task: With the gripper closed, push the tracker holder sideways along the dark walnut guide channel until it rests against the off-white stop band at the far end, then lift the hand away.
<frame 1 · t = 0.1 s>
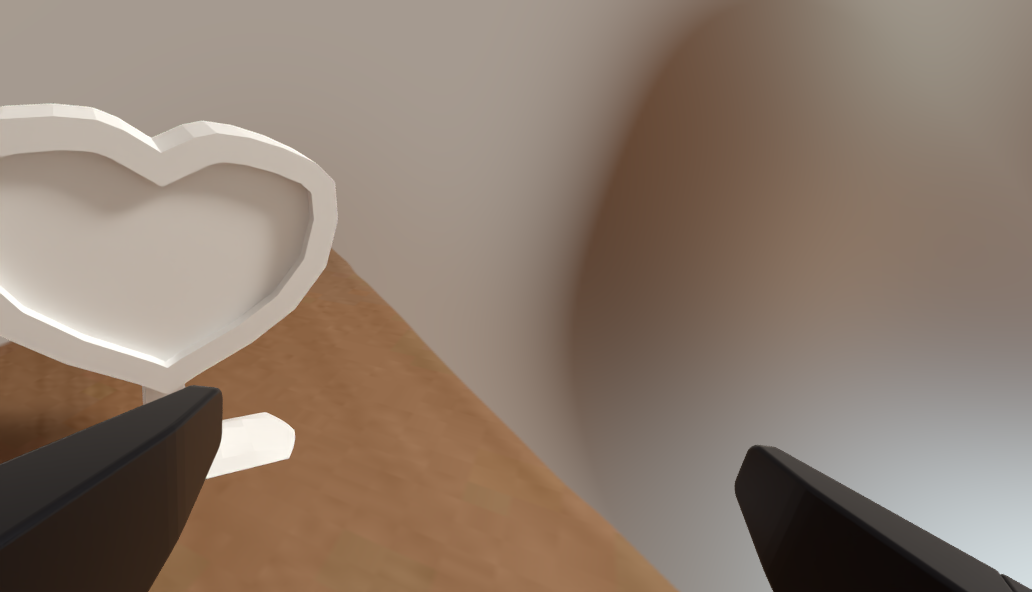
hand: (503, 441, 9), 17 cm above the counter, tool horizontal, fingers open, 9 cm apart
heart sculpture: (165, 460, 29), on the counter
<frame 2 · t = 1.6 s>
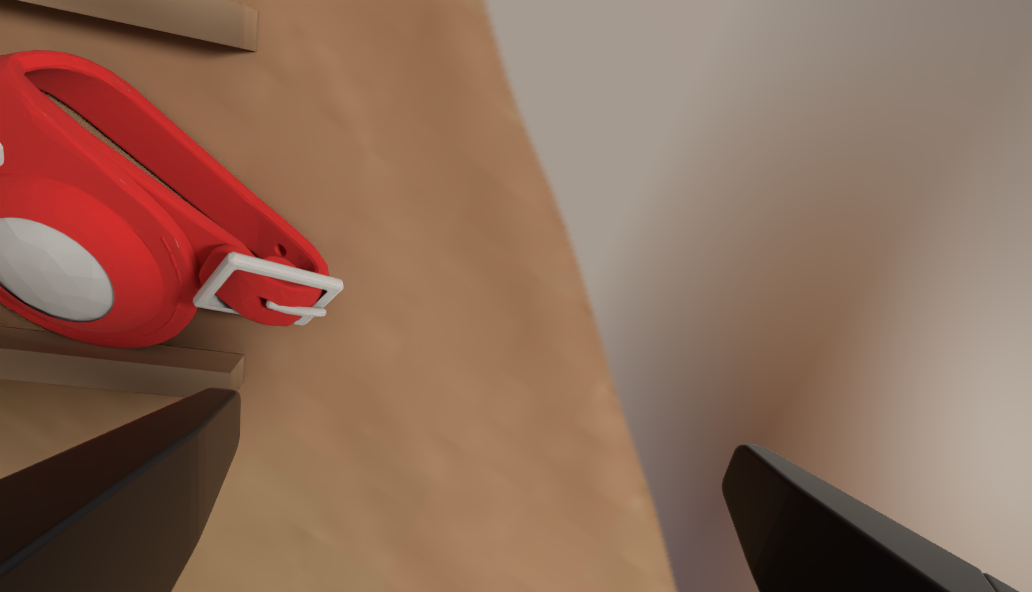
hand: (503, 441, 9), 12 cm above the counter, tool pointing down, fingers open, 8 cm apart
tracker holder: (163, 237, 19), on the counter
guide channel: (8, 178, 18), on the counter
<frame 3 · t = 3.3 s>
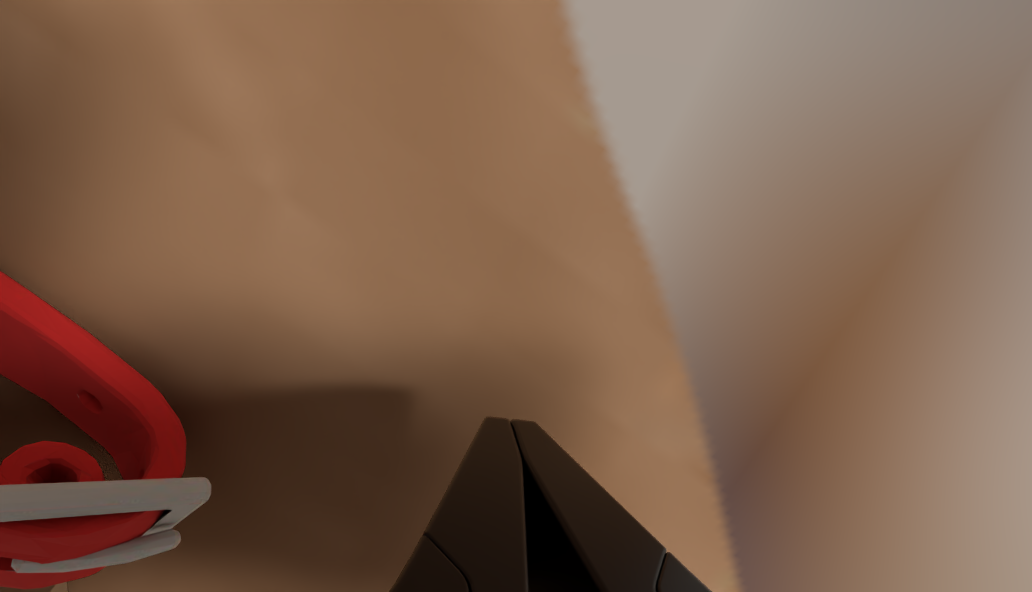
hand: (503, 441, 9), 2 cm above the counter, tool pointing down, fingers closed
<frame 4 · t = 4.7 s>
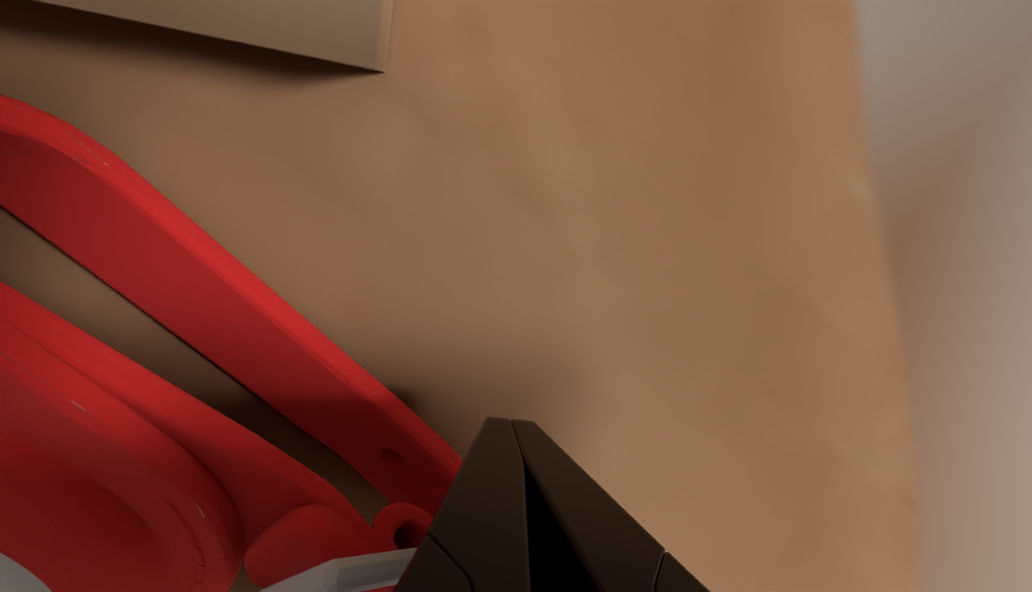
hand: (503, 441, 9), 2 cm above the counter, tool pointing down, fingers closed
tracker holder: (168, 417, 10), on the counter
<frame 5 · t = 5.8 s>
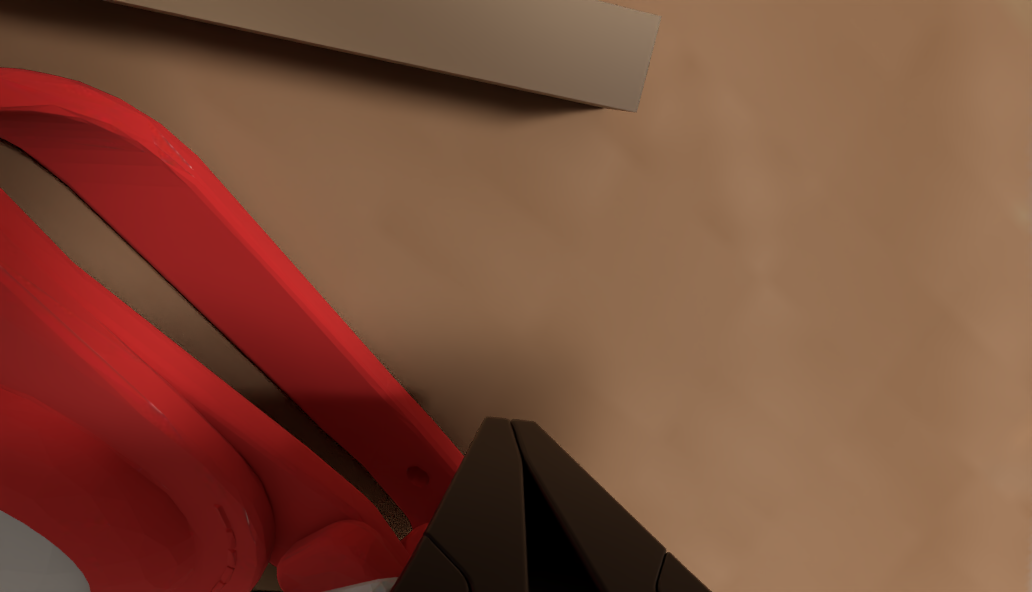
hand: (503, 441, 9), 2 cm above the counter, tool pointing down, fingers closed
tracker holder: (197, 412, 10), on the counter
guide channel: (118, 351, 9), on the counter
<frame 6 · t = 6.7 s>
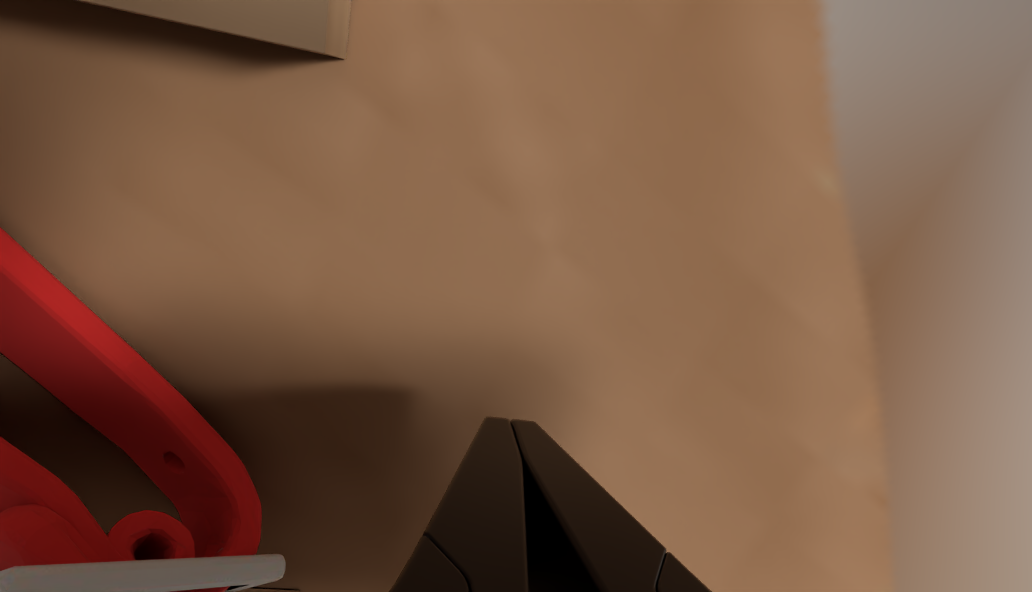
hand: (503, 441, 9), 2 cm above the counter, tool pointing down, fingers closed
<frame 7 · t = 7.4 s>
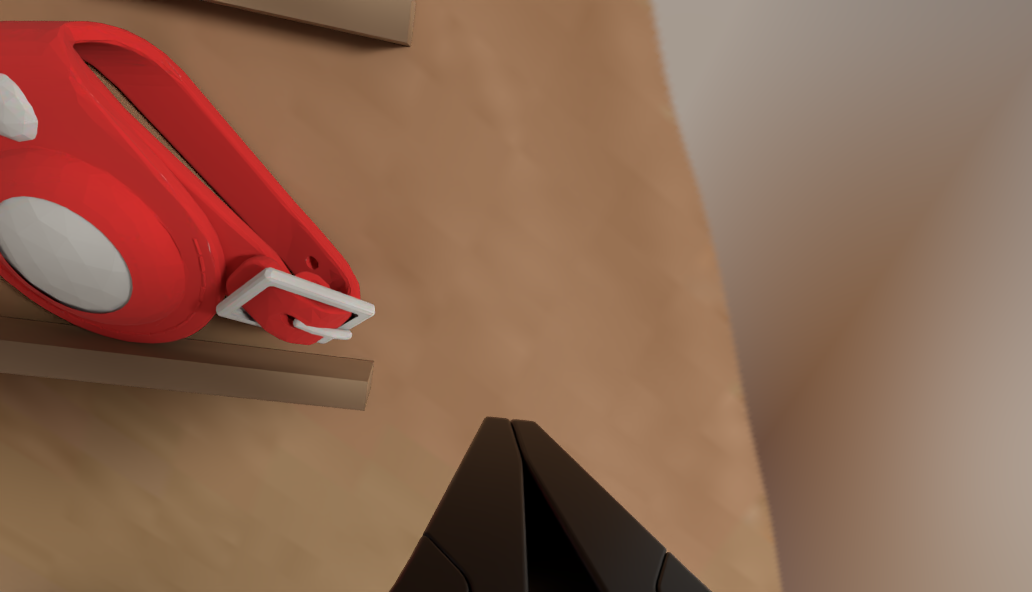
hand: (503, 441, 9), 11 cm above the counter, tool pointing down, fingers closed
tracker holder: (187, 229, 18), on the counter
guide channel: (151, 180, 17), on the counter
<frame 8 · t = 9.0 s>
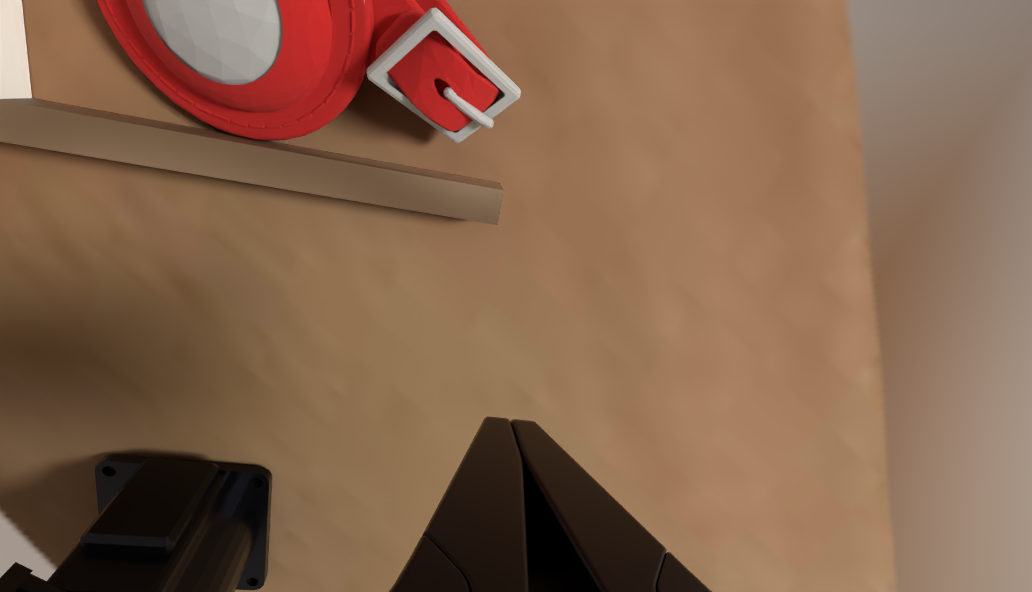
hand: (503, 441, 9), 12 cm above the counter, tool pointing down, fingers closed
tracker holder: (315, 22, 17), on the counter
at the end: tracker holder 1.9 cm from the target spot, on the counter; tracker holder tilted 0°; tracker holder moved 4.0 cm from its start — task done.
